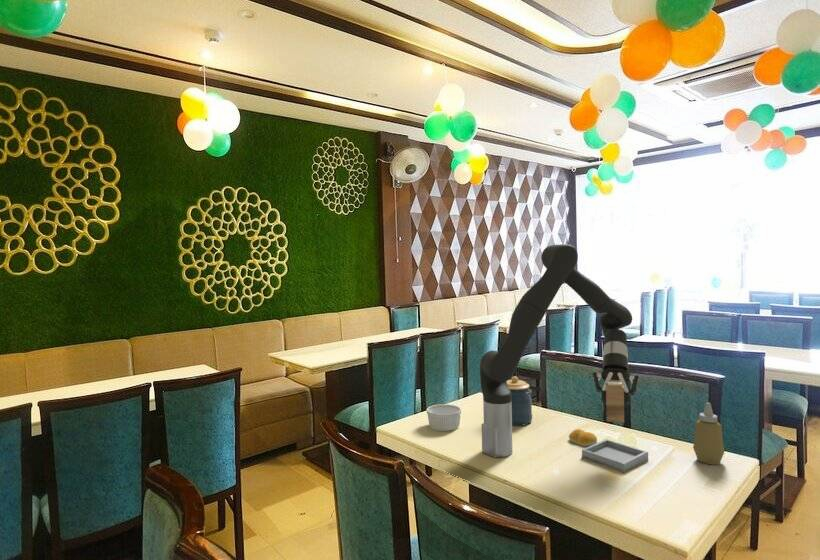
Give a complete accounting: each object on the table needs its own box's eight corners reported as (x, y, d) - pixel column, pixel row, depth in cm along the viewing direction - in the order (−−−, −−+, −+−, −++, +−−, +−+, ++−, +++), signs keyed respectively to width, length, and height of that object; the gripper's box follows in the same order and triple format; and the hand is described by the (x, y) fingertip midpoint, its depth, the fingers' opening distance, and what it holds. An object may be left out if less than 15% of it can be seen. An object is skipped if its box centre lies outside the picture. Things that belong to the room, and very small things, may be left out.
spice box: (624, 423, 143) (623, 384, 142) (606, 421, 145) (606, 383, 144) (624, 418, 147) (623, 380, 147) (607, 416, 149) (606, 379, 149)
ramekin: (420, 429, 178) (420, 411, 178) (437, 419, 189) (436, 402, 189) (451, 435, 171) (451, 416, 171) (467, 424, 182) (466, 406, 182)
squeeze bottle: (721, 458, 146) (721, 400, 145) (726, 468, 138) (726, 408, 138) (691, 454, 149) (691, 398, 148) (695, 464, 142) (694, 405, 141)
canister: (523, 428, 176) (522, 382, 175) (492, 422, 184) (492, 377, 184) (537, 419, 186) (537, 375, 186) (508, 413, 194) (507, 371, 194)
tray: (624, 472, 137) (624, 464, 137) (582, 457, 149) (581, 449, 149) (648, 459, 146) (648, 451, 146) (606, 446, 157) (606, 439, 157)
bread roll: (590, 449, 156) (589, 437, 156) (565, 442, 162) (565, 430, 162) (602, 442, 161) (602, 431, 161) (578, 435, 168) (578, 424, 168)
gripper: (591, 350, 155) (589, 396, 145) (639, 353, 149) (641, 400, 139) (592, 363, 160) (591, 408, 150) (639, 366, 154) (640, 413, 144)
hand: (615, 404), depth 144 cm, fingers closed on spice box, 5 cm apart
